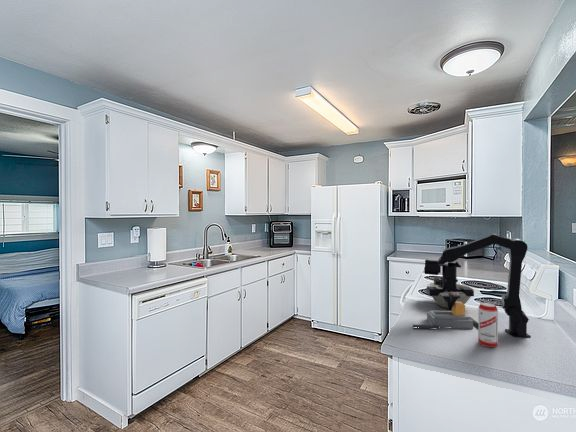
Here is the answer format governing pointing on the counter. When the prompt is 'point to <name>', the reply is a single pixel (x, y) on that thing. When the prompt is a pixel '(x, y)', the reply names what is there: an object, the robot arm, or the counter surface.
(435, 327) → the cord
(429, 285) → the ceramic bowl
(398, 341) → the counter surface
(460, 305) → the knob
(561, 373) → the counter surface
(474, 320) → the cord
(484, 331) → the beer can
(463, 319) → the power strip
